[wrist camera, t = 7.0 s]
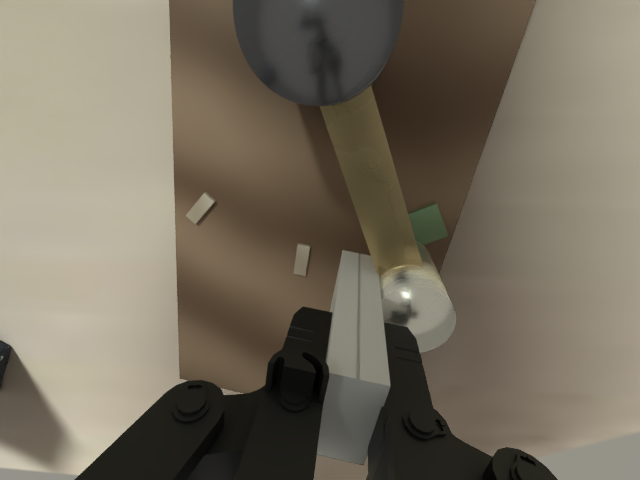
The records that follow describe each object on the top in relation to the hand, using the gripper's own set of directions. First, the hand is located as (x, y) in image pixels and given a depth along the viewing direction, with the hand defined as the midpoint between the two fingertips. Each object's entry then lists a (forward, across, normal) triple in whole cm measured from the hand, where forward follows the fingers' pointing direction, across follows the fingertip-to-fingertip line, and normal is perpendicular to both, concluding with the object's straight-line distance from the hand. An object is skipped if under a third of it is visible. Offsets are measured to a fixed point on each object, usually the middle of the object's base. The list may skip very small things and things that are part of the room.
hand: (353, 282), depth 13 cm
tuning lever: (+2, 0, +5) cm, 5 cm away
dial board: (+4, -2, +2) cm, 5 cm away
